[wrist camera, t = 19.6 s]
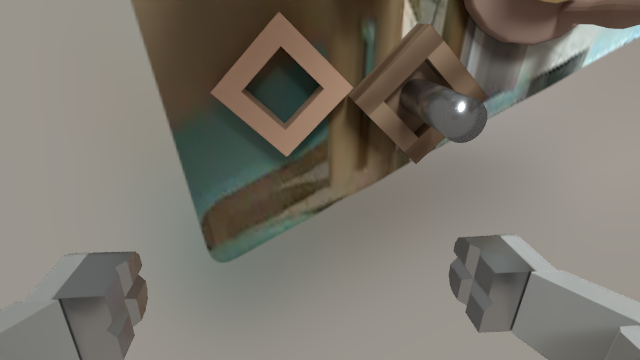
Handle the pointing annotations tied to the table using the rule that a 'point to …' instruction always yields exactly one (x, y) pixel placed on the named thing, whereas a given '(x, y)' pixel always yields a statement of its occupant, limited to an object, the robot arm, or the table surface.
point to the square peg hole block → (402, 66)
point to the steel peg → (444, 109)
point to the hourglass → (548, 17)
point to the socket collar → (257, 113)
